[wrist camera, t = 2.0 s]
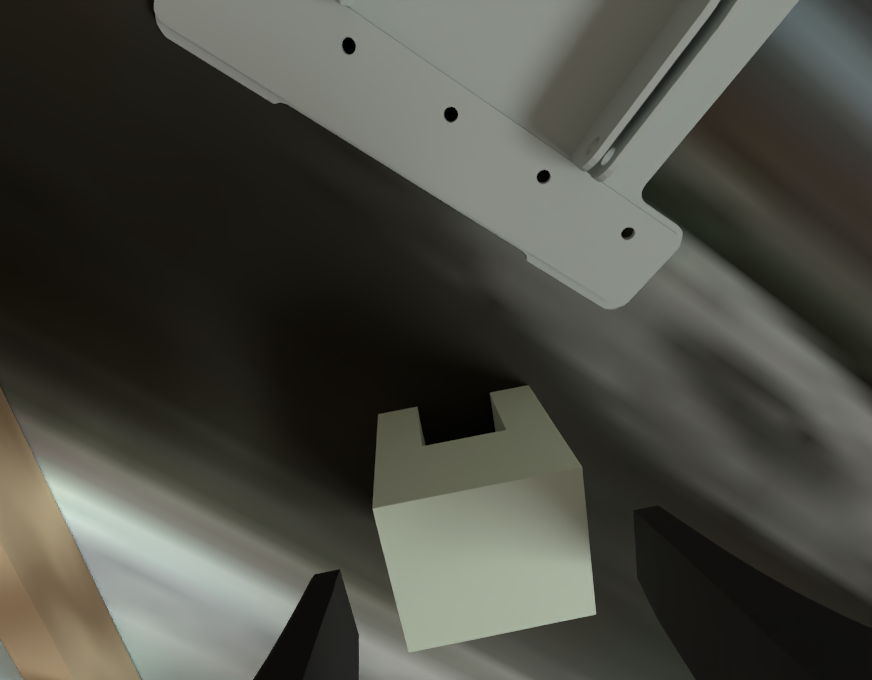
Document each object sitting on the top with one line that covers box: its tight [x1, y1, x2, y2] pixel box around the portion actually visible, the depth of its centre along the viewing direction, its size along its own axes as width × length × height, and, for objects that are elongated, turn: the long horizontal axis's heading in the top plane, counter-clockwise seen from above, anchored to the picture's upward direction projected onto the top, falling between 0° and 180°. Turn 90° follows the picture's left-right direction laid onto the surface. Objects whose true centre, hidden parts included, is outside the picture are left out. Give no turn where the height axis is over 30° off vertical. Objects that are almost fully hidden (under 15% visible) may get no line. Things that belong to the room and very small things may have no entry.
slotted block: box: [372, 385, 596, 653], centre depth 15 cm, size 4×5×5 cm
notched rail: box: [0, 387, 141, 680], centre depth 15 cm, size 16×1×5 cm, turn 10°
